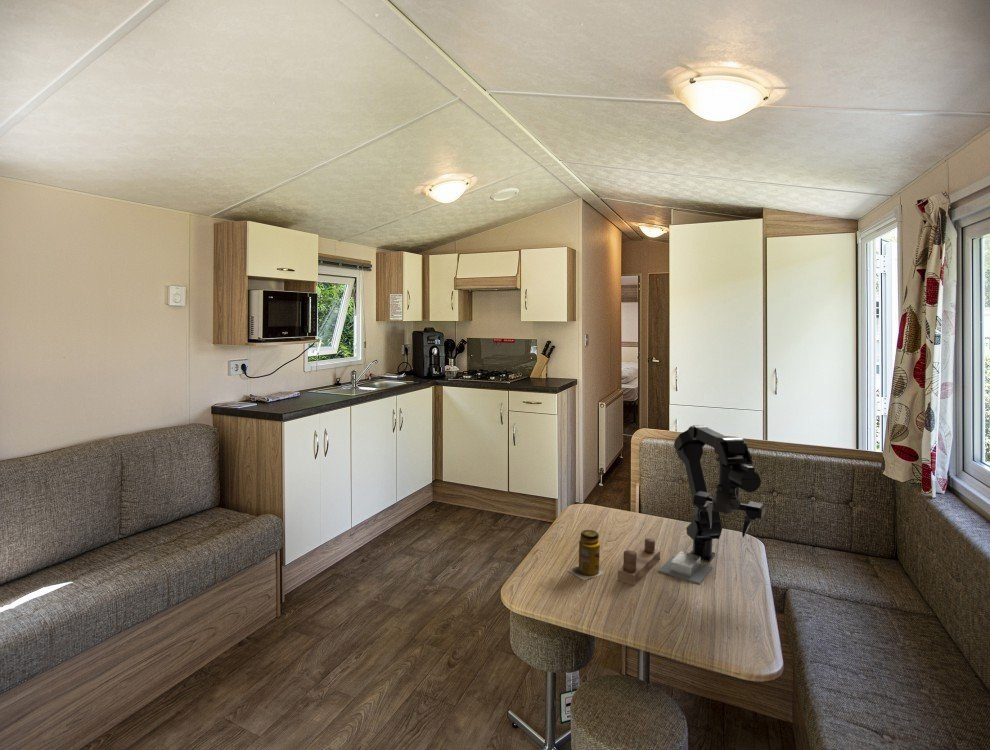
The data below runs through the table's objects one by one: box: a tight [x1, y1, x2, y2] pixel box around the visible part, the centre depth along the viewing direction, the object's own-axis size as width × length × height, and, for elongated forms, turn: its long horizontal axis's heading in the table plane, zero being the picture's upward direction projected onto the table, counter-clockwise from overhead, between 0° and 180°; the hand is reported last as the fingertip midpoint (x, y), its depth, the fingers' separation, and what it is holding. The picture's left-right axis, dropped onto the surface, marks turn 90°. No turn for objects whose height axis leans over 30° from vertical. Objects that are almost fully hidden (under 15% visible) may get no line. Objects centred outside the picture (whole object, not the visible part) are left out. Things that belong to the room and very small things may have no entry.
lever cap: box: [670, 550, 702, 578], centre depth 158 cm, size 9×6×3 cm, turn 142°
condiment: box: [567, 529, 606, 581], centre depth 157 cm, size 7×8×12 cm
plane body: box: [617, 537, 661, 586], centre depth 159 cm, size 20×5×8 cm, turn 142°
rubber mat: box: [658, 555, 713, 585], centre depth 159 cm, size 12×12×1 cm
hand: (726, 532), depth 154 cm, fingers open, 9 cm apart
